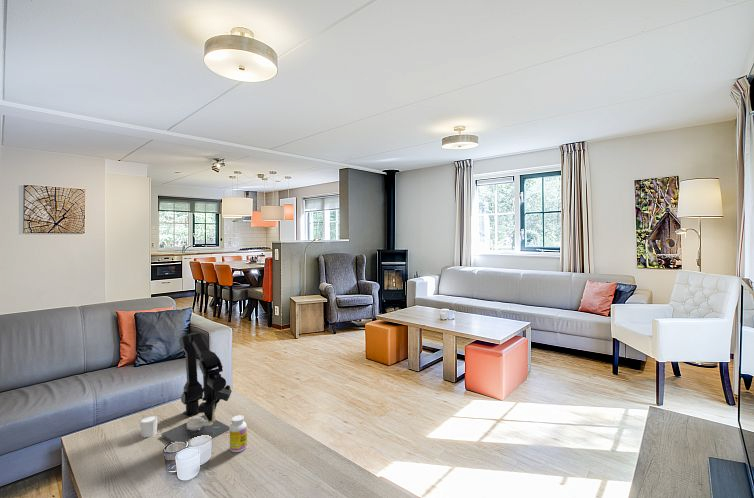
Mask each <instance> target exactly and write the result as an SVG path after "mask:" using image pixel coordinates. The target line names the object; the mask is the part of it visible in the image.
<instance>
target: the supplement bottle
mask: <svg viewBox="0 0 754 498" xmlns="http://www.w3.org/2000/svg"><path fill="white" fill-rule="evenodd" d="M247 427H248V425H247V423H246V422H245V417H244V415H241V414H240V415H239V414H238V415H235V416H233V417H232V418H231V424H230V425H229V430H228V431H229V450H230V451H231V452H232V453H241V452H243V451H244V450H246V449H247V447H248V433H247V432H248V431H247Z"/></svg>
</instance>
